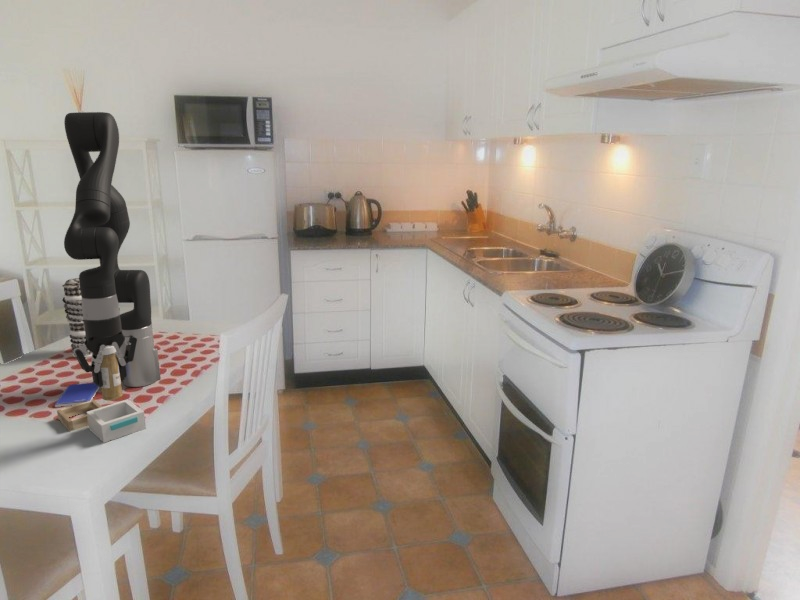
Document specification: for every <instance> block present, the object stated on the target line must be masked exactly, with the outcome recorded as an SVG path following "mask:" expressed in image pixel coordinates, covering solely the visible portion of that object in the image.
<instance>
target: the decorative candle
mask: <svg viewBox="0 0 800 600" xmlns="http://www.w3.org/2000/svg"><path fill="white" fill-rule="evenodd" d="M61 287H63V291H64V292H63V293H64V295H63V296H64V297H62V300H61V301H62V303H63V307H64V312H65V314H66V316H65V317H66V322H67V323H69V325H68V326H69V338H70V339H69V341H70V348H71V352H72V357H73V358H76V357H75V355H74V353H73V351H72V350H73V348H79V347H81V346H83V345H85V341H86V334H85V327H84V320H83V313H82V296H81V290H80V283H79V277H76V278H70V279H68V280H66V281H65V282H64V284H62V286H61ZM84 357H85V358H91V357H92V352H91V351H89V350H88V349H87V350H86V355H85V356H84Z"/></svg>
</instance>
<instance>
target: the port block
mask: <svg viewBox="0 0 800 600" xmlns="http://www.w3.org/2000/svg"><path fill="white" fill-rule="evenodd" d="M86 415H87V419H88V429H89V430H90V431H91V432H92V433H93V434H94V435H95V436H96V437H97V438H98V439H99V440H100V441H101V440H102V441H103V444H105V443H107V442H111V441H113V440H117V439H120V438H122V437H125V436H128V435H131V434H133V433H136V432H139V431H142V430H145V429H146V430H147V425H146V416H145V411H144V410H143V409H142V408H140V407H139V406H138V405H135V403H133V402H132V401H131V400H130V399H124V400H121V401H118V402H115V403H111V404H108V405H103V406H102V407H101V408H97V409H94V410H91V411H88V412H86ZM110 440H111V441H110ZM102 441H101V442H102Z"/></svg>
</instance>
